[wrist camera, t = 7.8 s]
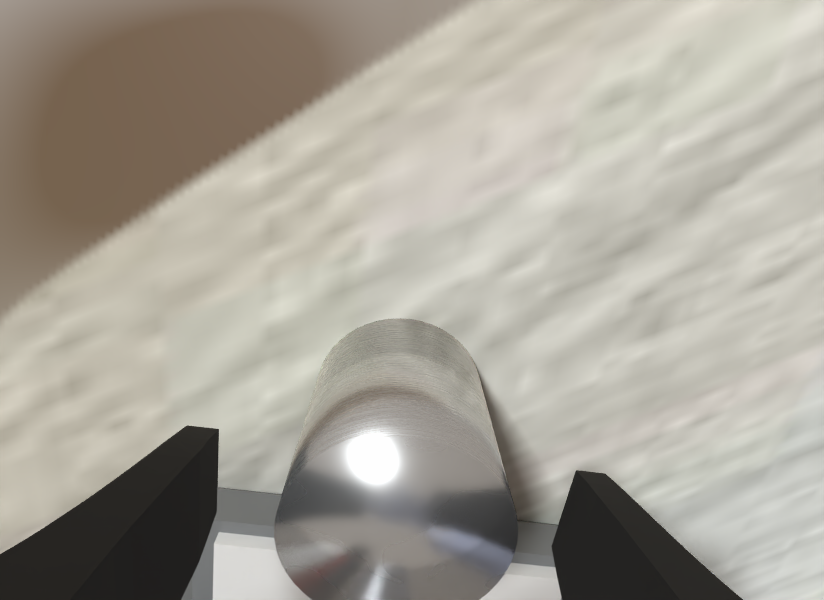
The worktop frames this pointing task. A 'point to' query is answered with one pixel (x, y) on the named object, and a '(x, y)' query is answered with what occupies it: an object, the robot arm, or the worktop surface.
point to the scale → (278, 596)
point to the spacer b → (397, 474)
